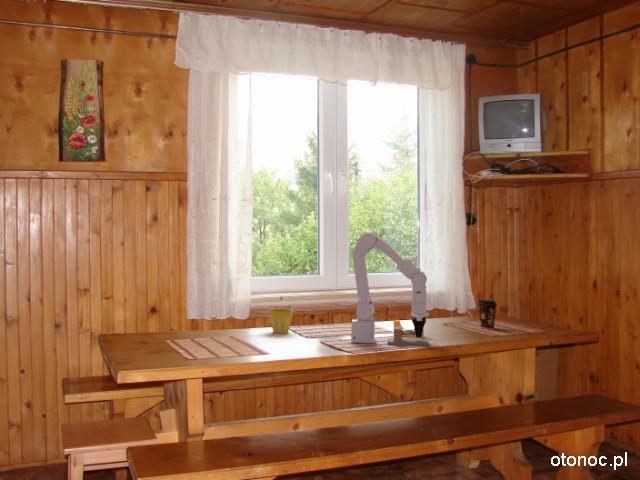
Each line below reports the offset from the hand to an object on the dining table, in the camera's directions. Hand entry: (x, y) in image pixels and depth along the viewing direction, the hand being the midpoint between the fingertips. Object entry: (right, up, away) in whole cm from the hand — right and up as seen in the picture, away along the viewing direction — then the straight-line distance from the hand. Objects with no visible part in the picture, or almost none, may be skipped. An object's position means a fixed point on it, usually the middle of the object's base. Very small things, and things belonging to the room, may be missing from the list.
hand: (418, 336), depth 271 cm
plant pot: (-56, -2, +27) cm, 63 cm away
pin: (-4, -1, +1) cm, 4 cm away
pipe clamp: (-1, -3, +19) cm, 19 cm away
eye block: (-3, -3, 0) cm, 4 cm away
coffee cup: (+37, -2, +42) cm, 56 cm away
